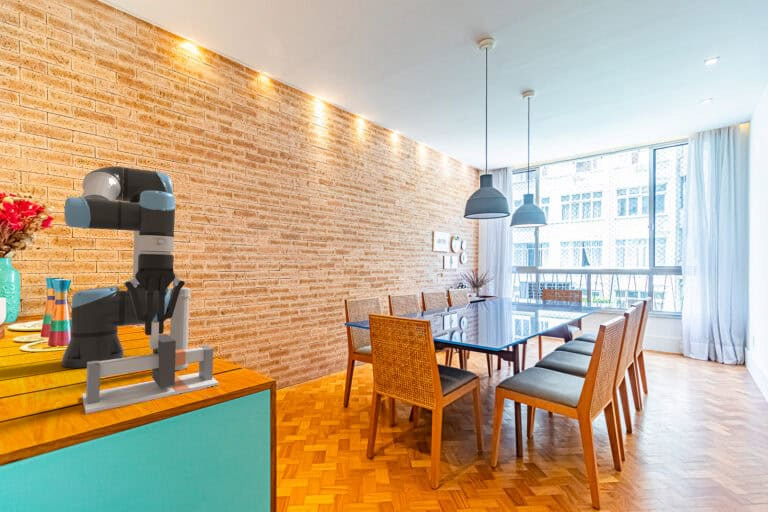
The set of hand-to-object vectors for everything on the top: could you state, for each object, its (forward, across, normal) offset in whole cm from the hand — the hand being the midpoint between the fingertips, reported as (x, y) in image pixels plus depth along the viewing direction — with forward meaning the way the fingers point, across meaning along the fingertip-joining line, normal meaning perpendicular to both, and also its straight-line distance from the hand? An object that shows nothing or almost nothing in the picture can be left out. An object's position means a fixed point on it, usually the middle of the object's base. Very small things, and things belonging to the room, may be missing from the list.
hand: (153, 347), depth 89 cm
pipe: (+11, +9, +17) cm, 22 cm away
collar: (+9, +2, 0) cm, 9 cm away
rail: (+11, 0, 0) cm, 11 cm away
